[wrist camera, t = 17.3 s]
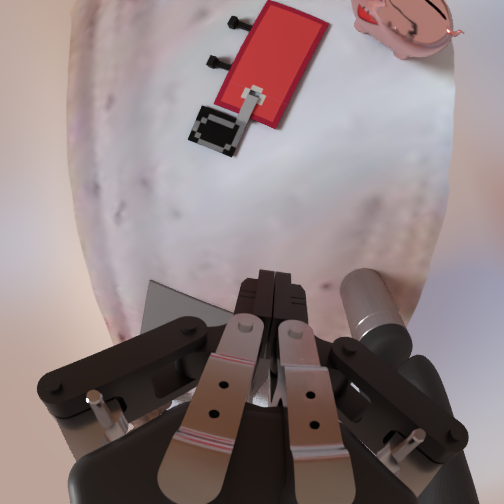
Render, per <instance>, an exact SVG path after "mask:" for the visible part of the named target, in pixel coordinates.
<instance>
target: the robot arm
mask: <svg viewBox="0 0 504 504" xmlns="http://www.w3.org/2000/svg"><path fill="white" fill-rule="evenodd" d="M274 274H275V278H274ZM340 294H341V298H342V301H343V305H344V309H345V313H346V316H347V320H348V324H349V328H350V331H351V335H352V338H350V337H340V338H338V339H336V340H335V341H334V342H333V343H330V342H327V341H324V340H322V339H319V338H318V337H316V336H315V335H314V333H313V330H312V328H311V327H310V326H309V325H308V314H307V305H306V294H305V291H304V289H303V288H302V287H301V285H296V284H291V273H283V272H276V273H275V271H269V270H261V269H260V271H259V277H258V279H252V278H247V279H245V280H244V281H243V282H242V283H241V287H240V291H239V295H238V299H237V303H236V307H235V311H234V315H233V316H232V317H231V318H230V319H229V320H228V323H226V324H224V325H220V326H212V327H207V325H206V323H205V322H204V321H203V320H202V319H200V318H198V317H194V316H183V317H180V318H177V319H175V320H173V321H170V322H168V323H166V324H164V325H161V326H159V327H157V328H155V329H152V330H150V331H148V332H145V333H143V334H141V335H138V336H136V337H134V338H131V339H129V340H127V341H124V342H122V343H120V344H117V345H115V346H113V347H110V348H108V349H105V350H103V351H101V352H98V353H96V354H93V355H91V356H89V357H86V358H84V359H81V360H79V361H76V362H74V363H72V364H69V365H66V366H64V367H61V368H59V369H56V370H54V371H51V372H49V373H46V374H45V375H44V376H43V377H42V378H41V379H40V380H39V382H38V385H37V393H38V395H39V397H40V399H41V400H42V401H43V403H44V404H45V405H46V407H47V409H48V411H49V412H50V414H51V415H52V416H53V418H54V419H55V420H56V421H57V423H58V425H59V427H60V429H61V431H62V433H63V435H64V437H65V440H66V442H67V444H68V446H69V448H70V450H71V452H72V454H73V456H74V458H75V459H76V461H77V462H76V463H75V464H74V466H73V467H72V469H71V471H70V474H69V478H68V491H69V496H70V503H71V504H479V501H478V497H477V493H476V490H475V486H474V483H473V479H472V476H471V473H470V470H469V467H468V464H467V461H466V457H465V454H464V451H463V449H464V448H465V447H466V445H467V443H468V432H467V430H466V428H465V427H464V425H463V424H462V423H460V422H459V421H458V420H456V419H455V418H454V416H453V412H452V409H451V406H450V403H449V400H448V397H447V394H446V392H445V388H444V386H443V384H442V381H441V378H440V376H439V374H438V372H437V370H436V369H435V367H434V365H433V364H432V363H431V362H430V361H429V360H428V359H427V358H426V357H424V356H422V355H415V356H412V357H411V358H409V357H410V355H411V352H412V340H411V337H410V335H409V333H408V331H407V329H406V327H405V325H404V322H403V320H402V319H401V316H400V314H399V308H398V306H397V304H396V302H395V301H394V299H393V297H392V295H391V293H390V291H389V289H388V287H387V286H386V284H385V283H384V282H383V281H382V279H381V278H380V276H379V275H378V273H376V272H375V271H373V270H371V269H358V270H356V271H353V272H352V273H350V274H349V275H348V276H346V277H345V279H344V280H343V282H342V284H341V287H340ZM265 349H266V354H265ZM264 354H265V359H270V367H269V372H268V407H260V406H257V405H254V404H251V403H249V398H250V394H251V390H252V386H253V382H254V377H255V373H256V369H257V368H258V365H259V360H260V358H261V359H264ZM351 382H352V383H353V384H354V385H356V386H357V387H358V388H359V391H360V393H359V392H358V391H357V390H356V389H355V388H354V387H352V386H351V385H350V384H351ZM196 386H197V388H196V390H195V392H194V395H193V397H192V400H191V401H189V402H185V403H182V404H179V405H177V406H174V407H172V408H171V409H169V410H167V411H166V412H164V413H162V414H161V415H159V416H157V417H156V418H154V419H152V420H150V421H149V422H147V423H145V424H143V425H142V426H140V427H138V428H136V429H134V430H133V431H131V432H129V433H127V431H128V424H129V423H131V422H133V421H135V420H136V419H138V418H140V417H142V416H144V415H146V414H148V413H150V412H152V411H154V410H156V409H157V408H159V407H161V406H163V405H165V404H167V403H168V402H170V401H172V400H174V399H176V398H177V397H179V396H181V395H183V394H184V393H186V392H188V391H190V390H191V389H193V388H195V387H196ZM338 419H339V420H340V421H341V422H342V423H343V424H342V423H341V422H339V420H338ZM126 433H127V434H126ZM362 442H363V443H364V444H365V445H366V446H367V447H368V448H369V449H370V450H371V451H372V452H373V453H374V454H375V455H376V456H375V455H374V454H373V453H372V452H371V451H370V450H369V449H368V448H367V447H366V446H365V445H364V444H363V443H362Z"/></svg>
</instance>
